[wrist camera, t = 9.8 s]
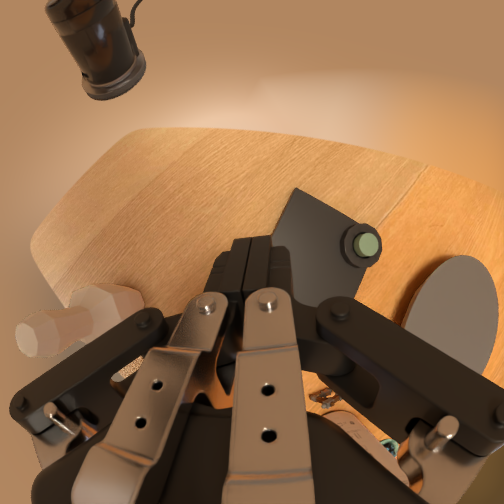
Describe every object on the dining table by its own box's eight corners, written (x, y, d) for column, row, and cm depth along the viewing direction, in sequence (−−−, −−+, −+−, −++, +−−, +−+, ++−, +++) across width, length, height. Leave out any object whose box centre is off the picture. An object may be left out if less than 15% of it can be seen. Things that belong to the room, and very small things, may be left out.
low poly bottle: (150, 281, 35) (56, 294, 13) (151, 328, 34) (70, 394, 12) (107, 280, 34) (-6, 288, 12) (109, 325, 33) (6, 375, 12)
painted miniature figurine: (406, 462, 34) (391, 480, 29) (375, 467, 38) (357, 484, 33) (398, 430, 38) (384, 445, 33) (367, 437, 42) (349, 451, 37)
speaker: (292, 460, 35) (345, 578, 9) (304, 411, 35) (385, 536, 9) (350, 454, 36) (425, 546, 10) (365, 406, 36) (468, 493, 10)
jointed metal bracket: (304, 394, 35) (326, 403, 31) (342, 373, 39) (364, 379, 35) (305, 404, 35) (326, 414, 31) (342, 383, 39) (364, 389, 35)
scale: (293, 190, 37) (298, 183, 34) (376, 238, 38) (387, 235, 35) (241, 296, 36) (242, 298, 33) (333, 338, 36) (341, 343, 33)
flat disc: (441, 223, 40) (458, 220, 35) (495, 315, 41) (509, 317, 36) (350, 357, 37) (364, 366, 32) (427, 425, 37) (440, 433, 33)
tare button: (357, 230, 35) (364, 228, 33) (374, 240, 35) (381, 239, 33) (350, 250, 35) (355, 249, 33) (367, 260, 35) (373, 260, 33)
